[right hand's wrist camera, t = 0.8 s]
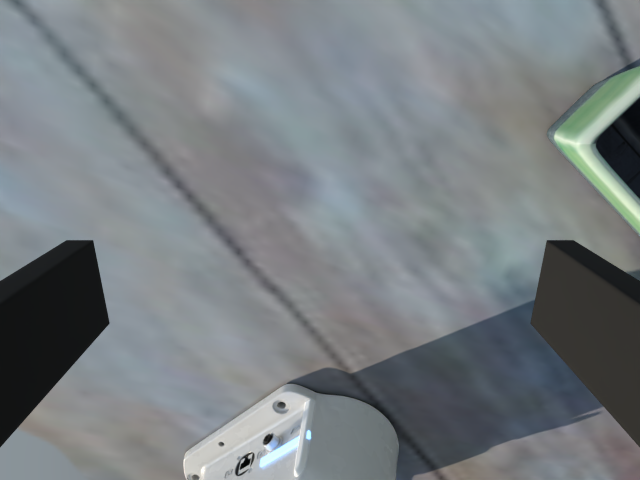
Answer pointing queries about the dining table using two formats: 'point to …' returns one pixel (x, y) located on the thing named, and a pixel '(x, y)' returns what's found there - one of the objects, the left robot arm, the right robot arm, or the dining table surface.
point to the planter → (606, 141)
